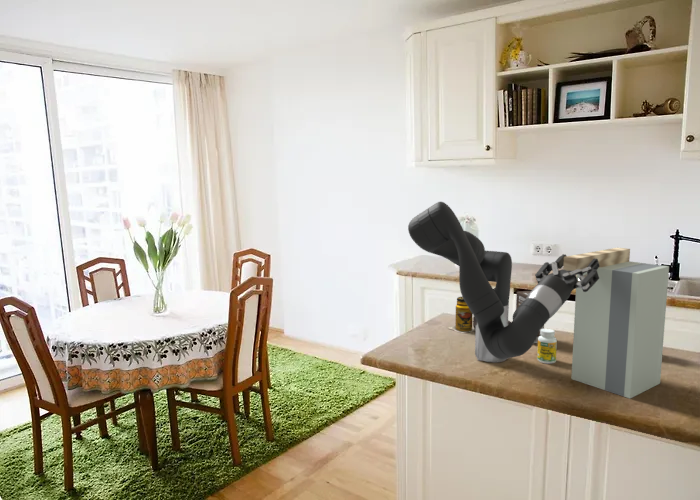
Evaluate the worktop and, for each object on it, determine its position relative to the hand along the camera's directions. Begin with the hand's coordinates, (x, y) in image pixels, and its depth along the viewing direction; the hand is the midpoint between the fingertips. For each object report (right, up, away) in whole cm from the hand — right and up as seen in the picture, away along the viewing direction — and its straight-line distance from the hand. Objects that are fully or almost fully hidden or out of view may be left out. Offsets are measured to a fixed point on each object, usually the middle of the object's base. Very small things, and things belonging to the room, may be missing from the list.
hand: (580, 259), depth 133 cm
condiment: (-18, -27, +58) cm, 67 cm away
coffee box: (+2, -28, +45) cm, 54 cm away
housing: (+13, -33, +9) cm, 37 cm away
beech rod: (+7, -2, +5) cm, 8 cm away
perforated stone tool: (-8, -28, +51) cm, 59 cm away
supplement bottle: (+1, -31, +25) cm, 40 cm away
